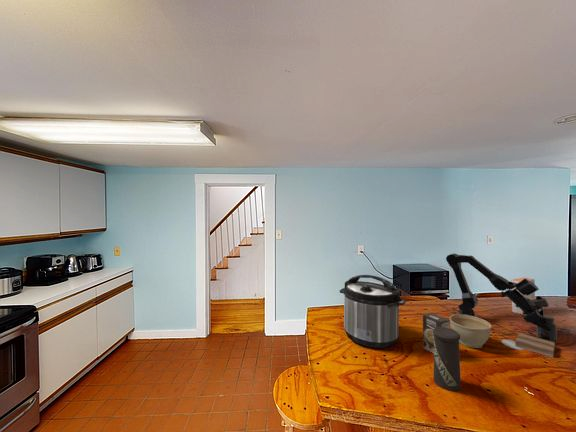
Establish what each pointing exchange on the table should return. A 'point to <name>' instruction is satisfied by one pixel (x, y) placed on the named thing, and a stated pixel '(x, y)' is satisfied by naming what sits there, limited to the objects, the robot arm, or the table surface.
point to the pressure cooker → (371, 311)
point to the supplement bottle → (548, 334)
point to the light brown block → (535, 344)
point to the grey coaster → (511, 344)
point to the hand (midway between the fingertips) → (550, 328)
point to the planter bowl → (471, 330)
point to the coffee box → (428, 325)
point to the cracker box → (531, 296)
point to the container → (446, 358)
